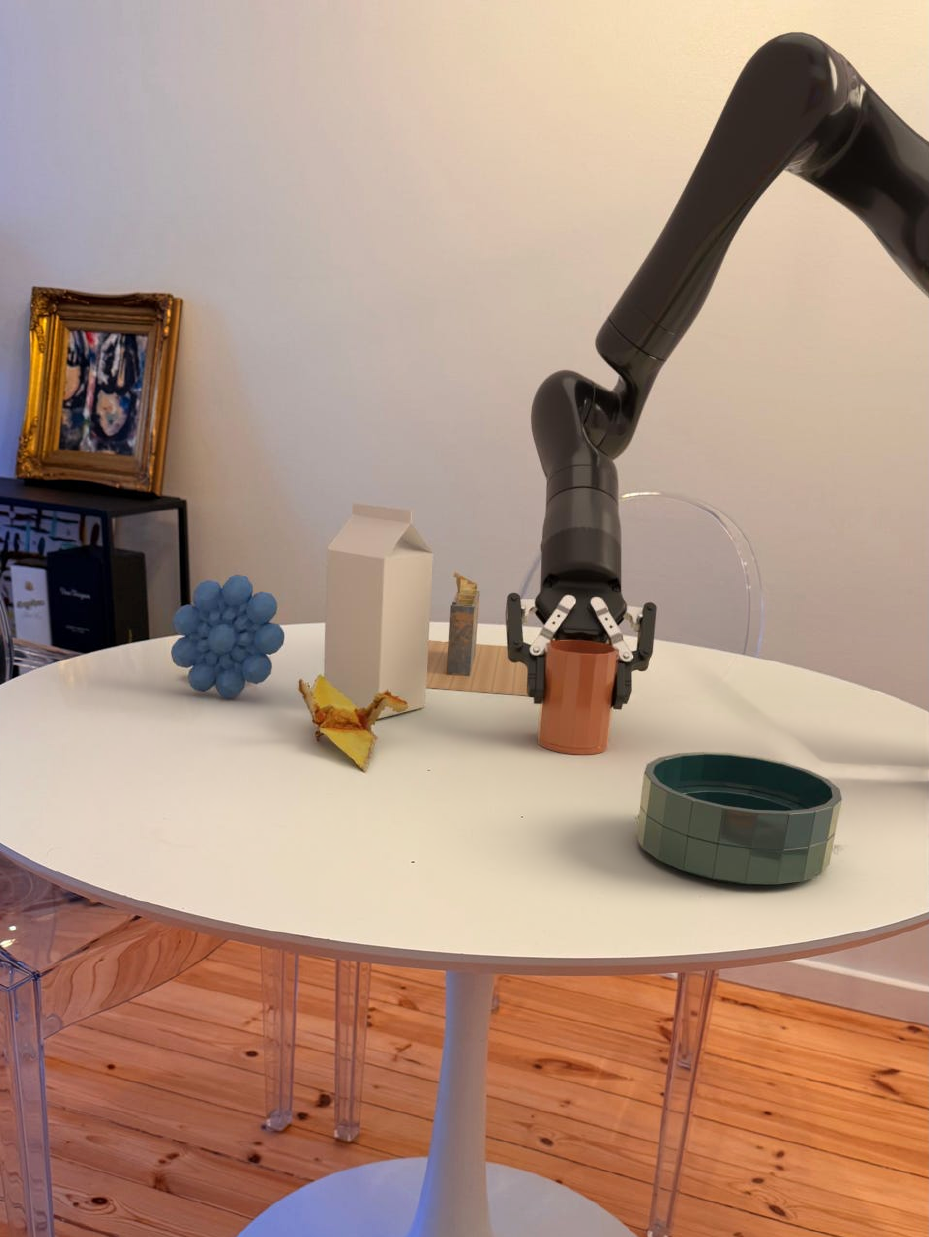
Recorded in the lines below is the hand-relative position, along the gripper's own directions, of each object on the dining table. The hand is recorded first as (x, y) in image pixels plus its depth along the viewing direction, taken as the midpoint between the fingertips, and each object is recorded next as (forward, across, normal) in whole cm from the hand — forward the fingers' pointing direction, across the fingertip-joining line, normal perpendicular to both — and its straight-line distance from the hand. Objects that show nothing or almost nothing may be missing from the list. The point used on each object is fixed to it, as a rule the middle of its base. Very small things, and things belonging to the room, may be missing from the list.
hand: (578, 701), depth 101 cm
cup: (+2, 0, +4) cm, 5 cm away
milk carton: (-4, -19, +10) cm, 22 cm away
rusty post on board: (-19, -11, +26) cm, 34 cm away
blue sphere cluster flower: (-4, -33, +11) cm, 35 cm away
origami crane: (+5, -21, +2) cm, 21 cm away
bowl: (+20, +9, -14) cm, 26 cm away
